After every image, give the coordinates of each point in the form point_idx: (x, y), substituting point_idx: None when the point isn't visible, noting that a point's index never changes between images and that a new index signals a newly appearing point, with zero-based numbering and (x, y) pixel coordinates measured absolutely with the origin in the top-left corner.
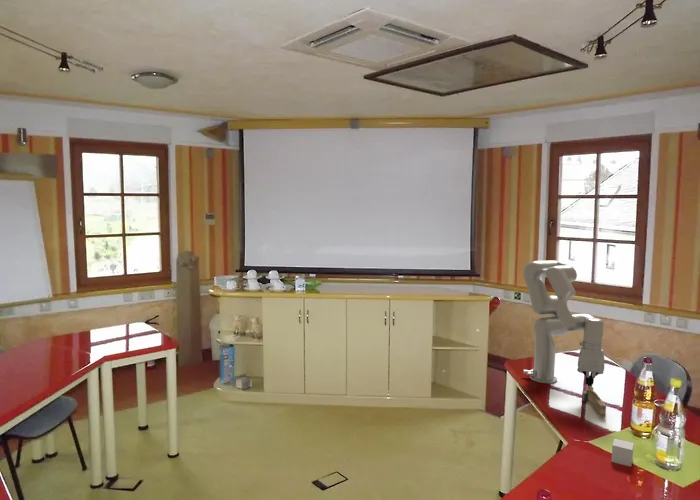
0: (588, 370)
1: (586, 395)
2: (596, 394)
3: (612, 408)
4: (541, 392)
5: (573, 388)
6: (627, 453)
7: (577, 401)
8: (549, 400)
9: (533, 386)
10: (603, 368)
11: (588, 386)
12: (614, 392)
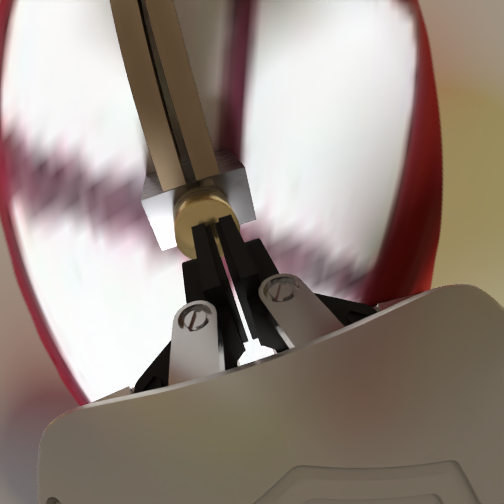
0: (363, 343)
1: (223, 166)
2: (139, 101)
3: (46, 134)
4: (417, 199)
5: None
6: None
7: (269, 140)
8: (409, 101)
9: (421, 253)
10: (38, 488)
11: (222, 250)
12: (99, 365)
